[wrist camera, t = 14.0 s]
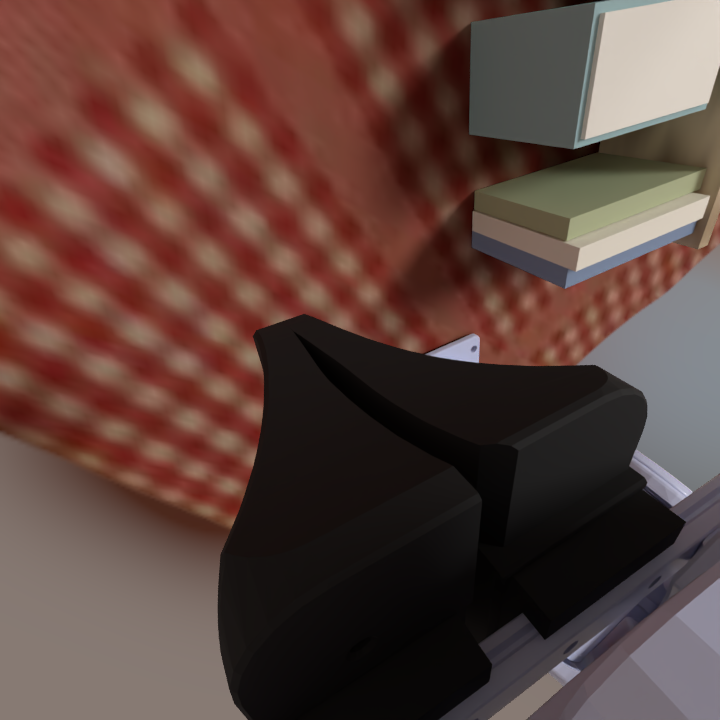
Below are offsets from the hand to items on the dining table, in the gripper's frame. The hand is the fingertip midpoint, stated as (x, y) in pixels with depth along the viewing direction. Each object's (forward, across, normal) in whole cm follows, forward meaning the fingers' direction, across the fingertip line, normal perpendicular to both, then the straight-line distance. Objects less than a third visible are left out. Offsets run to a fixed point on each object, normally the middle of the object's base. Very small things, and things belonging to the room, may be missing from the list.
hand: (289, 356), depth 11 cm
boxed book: (+10, -18, -4) cm, 21 cm away
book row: (+10, -18, +2) cm, 21 cm away
